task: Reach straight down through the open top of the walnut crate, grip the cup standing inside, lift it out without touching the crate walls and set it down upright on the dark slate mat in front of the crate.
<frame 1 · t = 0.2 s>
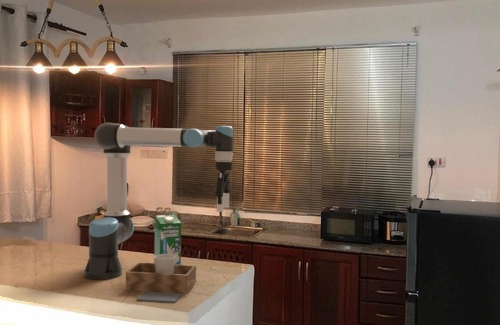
hand: (222, 209, 195), 28 cm above the worktop, fingers open, 13 cm apart
cup: (164, 287, 174), resting in crate
crate: (162, 286, 174), on the worktop
slate mat: (159, 298, 161), on the worktop
milk carton: (167, 274, 191), on the worktop
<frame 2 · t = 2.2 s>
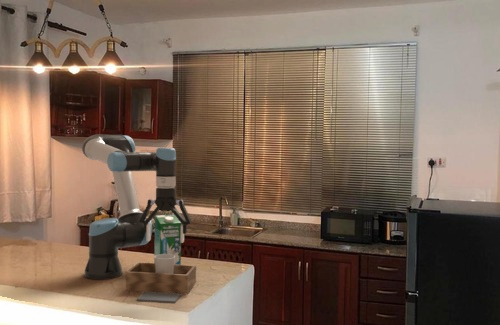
hand: (165, 241, 173), 18 cm above the worktop, fingers open, 13 cm apart
nothing on the worktop moved.
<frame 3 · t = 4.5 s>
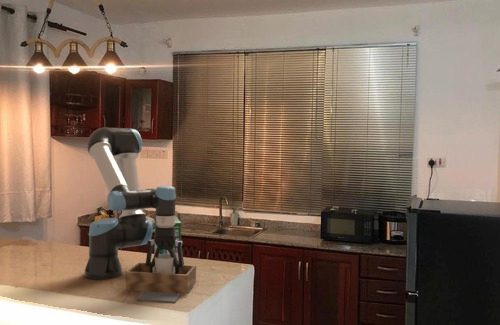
hand: (164, 283, 174), 1 cm above the worktop, fingers closed on cup, 7 cm apart
cup: (164, 286, 174), resting in crate, touching gripper
everything else where it was.
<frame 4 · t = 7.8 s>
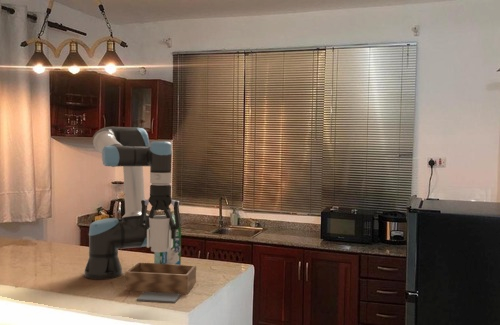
hand: (159, 247, 160), 19 cm above the worktop, fingers closed on cup, 7 cm apart
cup: (159, 250, 160), point 17 cm above the worktop, touching gripper
everything else where it was.
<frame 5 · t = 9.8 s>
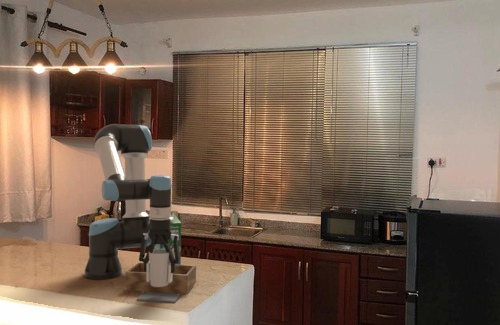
hand: (159, 281, 160), 6 cm above the worktop, fingers closed on cup, 7 cm apart
cup: (159, 284, 160), point 5 cm above the worktop, touching gripper
everything else where it was.
when the fingers open (3 cm above the worktop, at t = 11.4 s): cup drops 1 cm, resting on slate mat.
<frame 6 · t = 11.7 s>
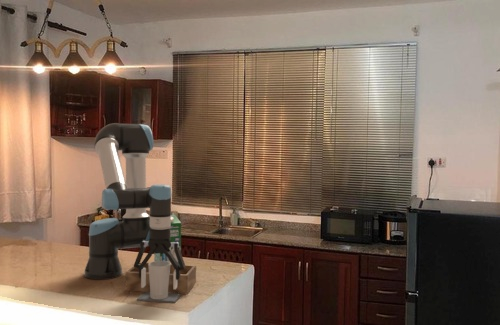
hand: (159, 287, 161), 4 cm above the worktop, fingers open, 11 cm apart
cup: (159, 296, 161), resting on slate mat
everything else where it was.
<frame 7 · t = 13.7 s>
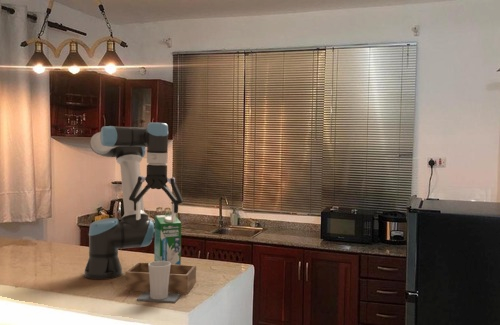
hand: (155, 220, 166), 27 cm above the worktop, fingers open, 13 cm apart
nothing on the worktop moved.
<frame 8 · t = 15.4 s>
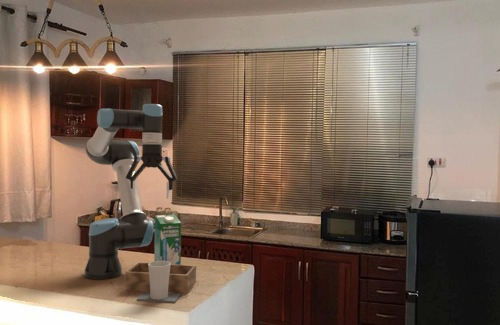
hand: (151, 197, 174), 35 cm above the worktop, fingers open, 13 cm apart
nothing on the worktop moved.
at the end: cup inside the target area on the slate mat (0.0 cm from its centre), point 0.4 cm above the slate mat's base; cup tilted 0°; cup touching slate mat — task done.
